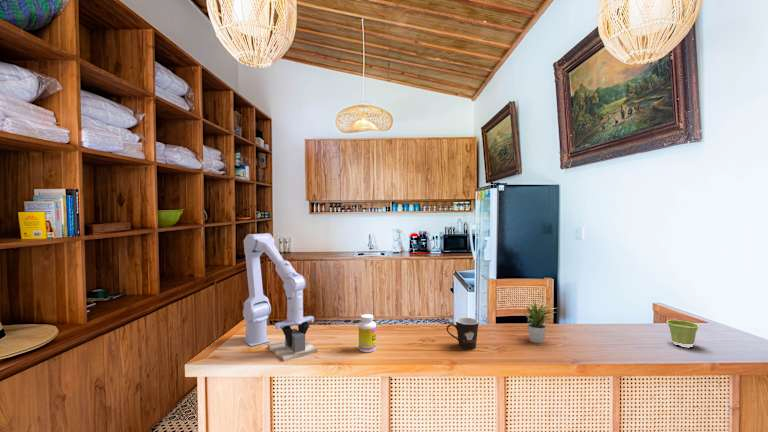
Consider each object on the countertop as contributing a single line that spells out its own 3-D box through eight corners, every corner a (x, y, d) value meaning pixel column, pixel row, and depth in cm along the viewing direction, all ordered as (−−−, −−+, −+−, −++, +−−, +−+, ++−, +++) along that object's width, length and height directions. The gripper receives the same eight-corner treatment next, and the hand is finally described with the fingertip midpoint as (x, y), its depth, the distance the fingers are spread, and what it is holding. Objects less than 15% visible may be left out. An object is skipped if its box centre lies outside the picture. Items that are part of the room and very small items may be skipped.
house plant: (546, 351, 126) (546, 308, 126) (511, 341, 137) (511, 301, 137) (562, 342, 136) (561, 301, 136) (528, 333, 146) (528, 295, 146)
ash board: (267, 347, 132) (267, 344, 132) (299, 339, 140) (299, 336, 140) (283, 361, 119) (283, 357, 119) (317, 351, 127) (317, 348, 127)
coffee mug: (480, 344, 134) (480, 319, 134) (476, 352, 126) (476, 325, 126) (451, 340, 139) (451, 315, 139) (445, 347, 131) (445, 321, 131)
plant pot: (672, 348, 129) (672, 325, 129) (662, 339, 138) (662, 318, 137) (704, 352, 125) (704, 328, 125) (692, 343, 134) (692, 321, 134)
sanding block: (285, 346, 130) (285, 330, 130) (295, 343, 132) (295, 328, 132) (295, 353, 123) (294, 337, 123) (305, 350, 125) (305, 334, 125)
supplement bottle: (373, 353, 126) (373, 318, 126) (356, 352, 127) (356, 317, 127) (377, 346, 132) (377, 313, 132) (361, 345, 133) (361, 312, 133)
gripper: (280, 314, 120) (280, 352, 120) (317, 307, 129) (317, 342, 129) (273, 309, 125) (273, 346, 125) (309, 303, 134) (309, 337, 134)
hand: (295, 344), depth 127 cm, fingers closed on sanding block, 4 cm apart
